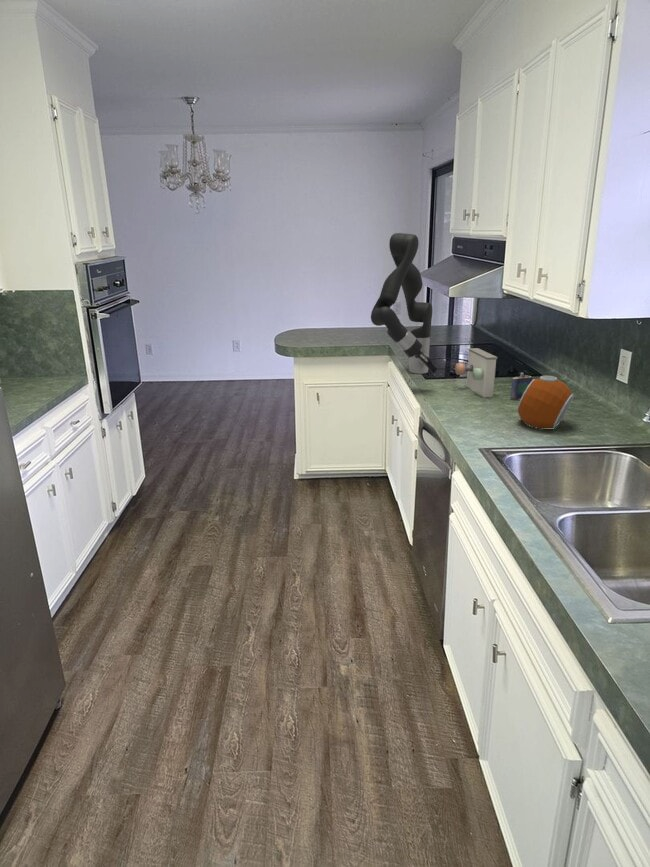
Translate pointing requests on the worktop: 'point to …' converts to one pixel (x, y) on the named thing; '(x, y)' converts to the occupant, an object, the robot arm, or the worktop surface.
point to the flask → (519, 386)
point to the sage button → (477, 373)
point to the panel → (488, 366)
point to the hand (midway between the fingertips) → (434, 370)
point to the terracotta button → (462, 368)
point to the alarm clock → (544, 402)
